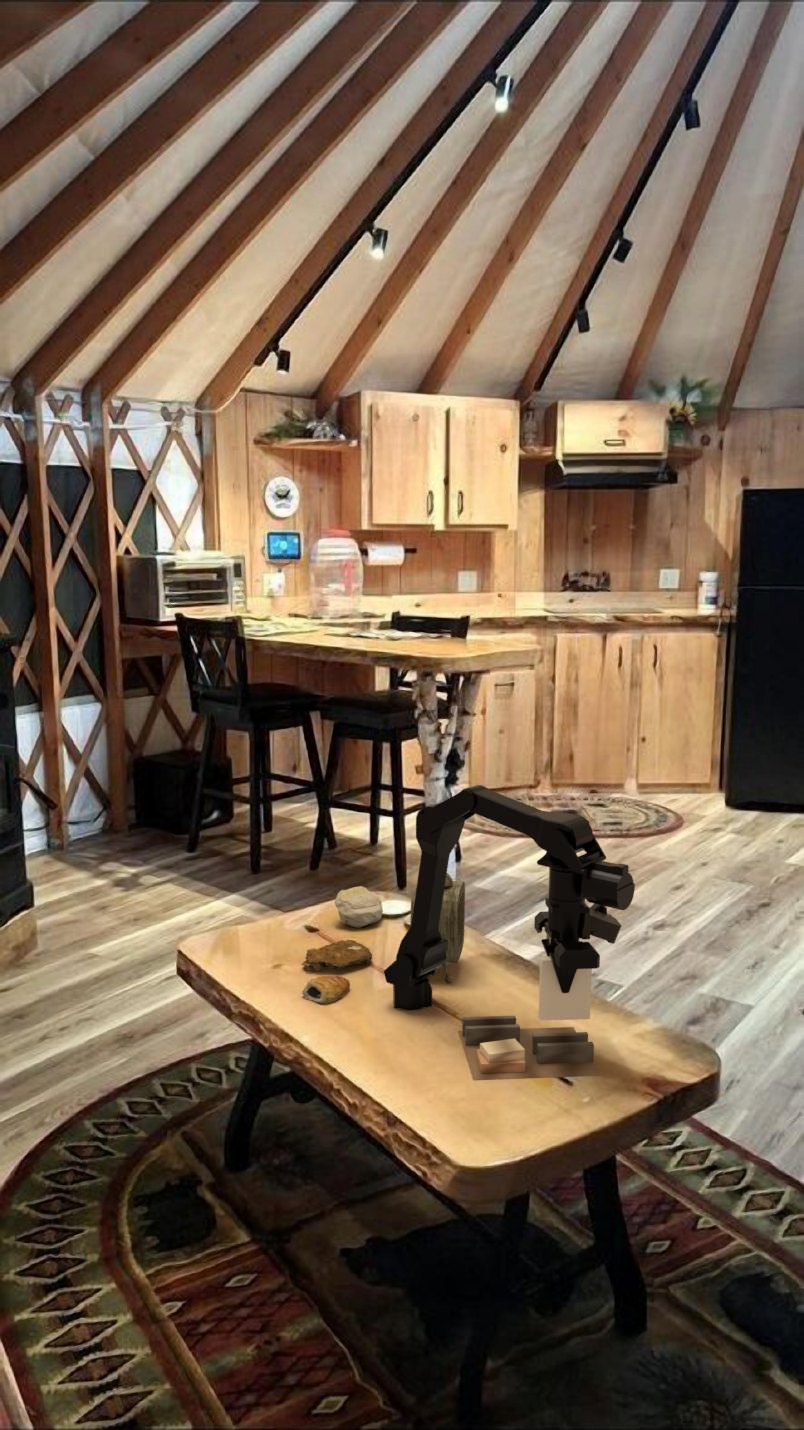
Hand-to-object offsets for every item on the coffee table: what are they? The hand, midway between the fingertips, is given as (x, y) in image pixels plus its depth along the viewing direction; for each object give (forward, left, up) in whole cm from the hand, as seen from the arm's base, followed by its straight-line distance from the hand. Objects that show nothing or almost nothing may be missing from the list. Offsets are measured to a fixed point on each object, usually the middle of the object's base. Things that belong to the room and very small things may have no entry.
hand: (563, 990), depth 163 cm
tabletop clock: (-15, +40, -13) cm, 45 cm away
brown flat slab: (-35, +45, -13) cm, 59 cm away
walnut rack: (-5, +2, -13) cm, 14 cm away
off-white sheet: (0, 0, -5) cm, 5 cm away
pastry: (-38, +30, -13) cm, 50 cm away
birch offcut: (-10, -2, -10) cm, 14 cm away
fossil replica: (-29, +69, -13) cm, 76 cm away
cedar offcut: (-10, -2, -11) cm, 15 cm away
